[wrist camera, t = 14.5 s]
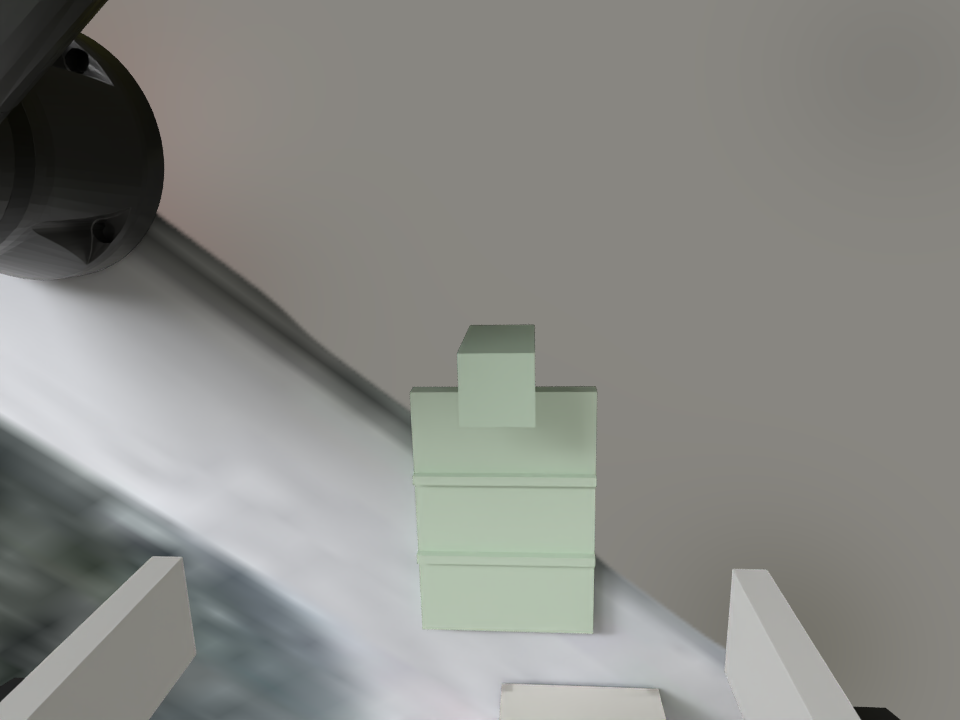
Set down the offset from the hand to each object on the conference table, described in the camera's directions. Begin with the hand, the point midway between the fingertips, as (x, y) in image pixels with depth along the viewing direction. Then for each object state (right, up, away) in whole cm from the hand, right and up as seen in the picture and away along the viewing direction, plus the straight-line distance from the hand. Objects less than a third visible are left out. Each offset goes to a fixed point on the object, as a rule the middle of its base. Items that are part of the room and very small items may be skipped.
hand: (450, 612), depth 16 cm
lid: (+2, -2, +28) cm, 28 cm away
